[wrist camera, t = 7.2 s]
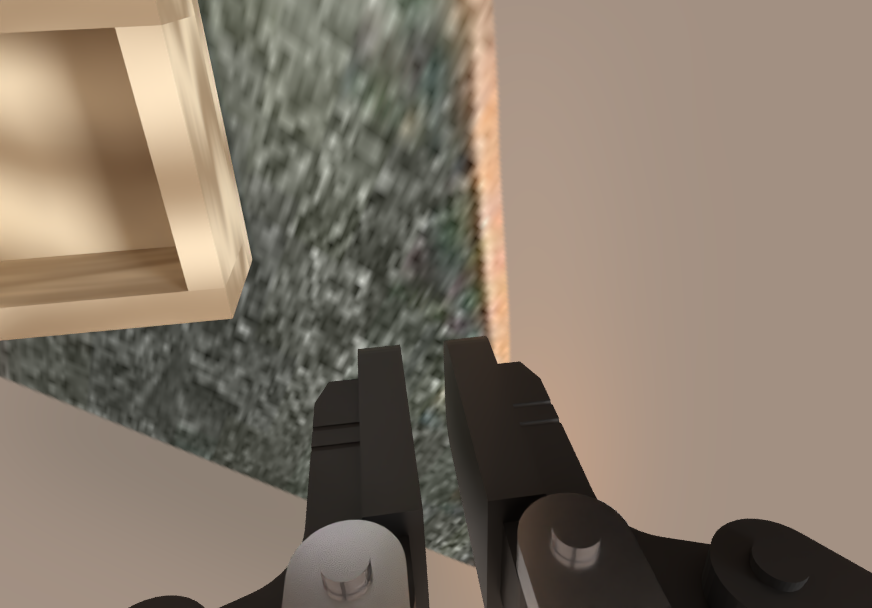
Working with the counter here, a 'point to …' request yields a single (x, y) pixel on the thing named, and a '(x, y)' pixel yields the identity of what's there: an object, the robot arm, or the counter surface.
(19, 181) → the open wooden box
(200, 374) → the counter surface
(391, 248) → the counter surface
